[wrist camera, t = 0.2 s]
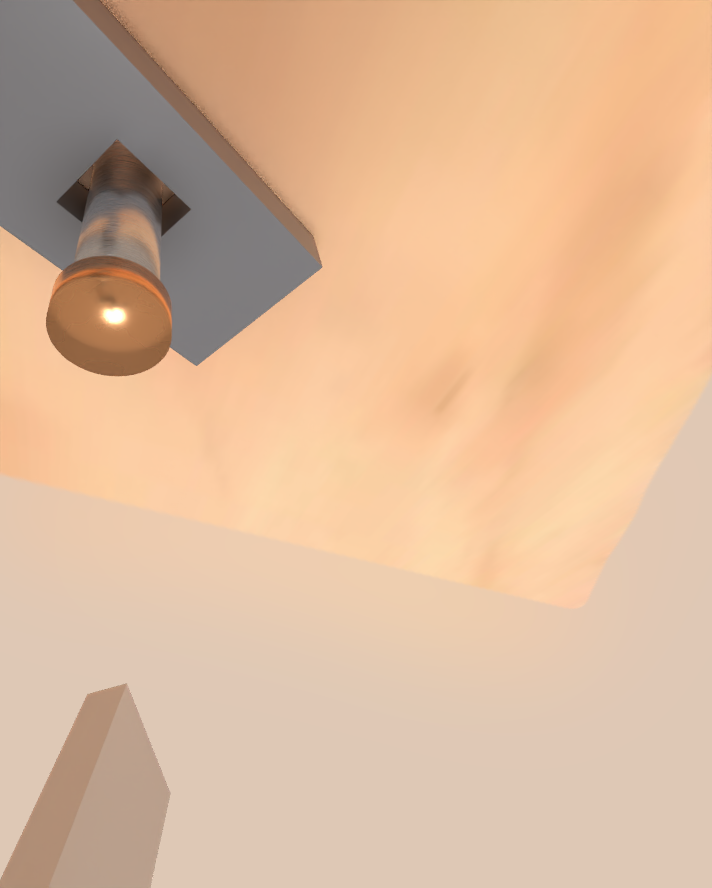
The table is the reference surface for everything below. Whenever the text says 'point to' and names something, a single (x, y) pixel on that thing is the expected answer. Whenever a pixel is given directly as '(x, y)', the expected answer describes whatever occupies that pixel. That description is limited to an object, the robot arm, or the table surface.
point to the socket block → (158, 147)
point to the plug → (115, 274)
